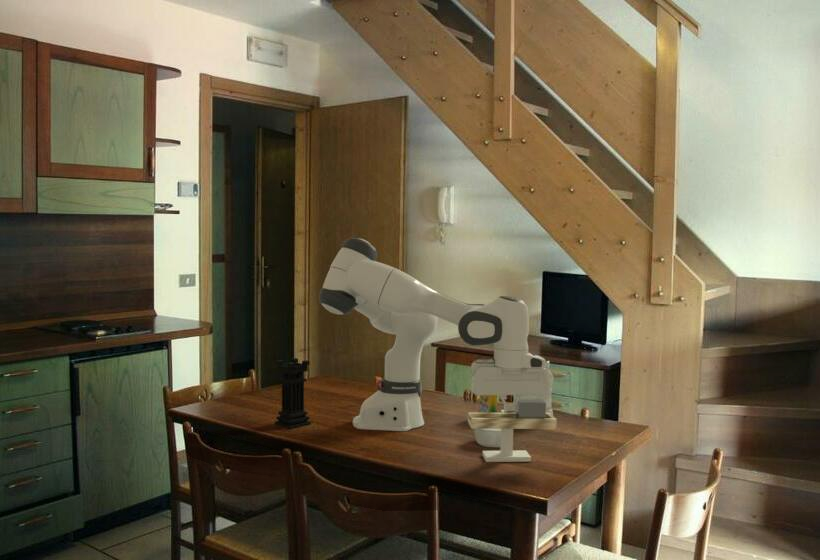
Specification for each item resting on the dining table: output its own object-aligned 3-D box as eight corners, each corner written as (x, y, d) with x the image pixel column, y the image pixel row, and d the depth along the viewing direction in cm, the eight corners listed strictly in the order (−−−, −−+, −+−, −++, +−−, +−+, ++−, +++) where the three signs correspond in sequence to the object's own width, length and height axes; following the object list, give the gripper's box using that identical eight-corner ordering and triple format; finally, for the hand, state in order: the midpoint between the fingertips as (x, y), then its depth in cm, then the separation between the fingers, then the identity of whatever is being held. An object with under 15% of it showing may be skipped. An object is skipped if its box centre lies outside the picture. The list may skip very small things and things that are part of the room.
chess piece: (274, 424, 234) (274, 360, 232) (294, 419, 240) (295, 357, 238) (290, 429, 228) (290, 364, 227) (311, 424, 234) (311, 361, 233)
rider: (518, 421, 194) (519, 402, 193) (515, 417, 198) (516, 399, 197) (545, 421, 194) (545, 402, 194) (541, 418, 198) (542, 399, 198)
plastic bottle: (552, 425, 236) (554, 362, 235) (531, 424, 237) (532, 361, 236) (553, 420, 242) (554, 359, 241) (531, 419, 244) (533, 358, 242)
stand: (486, 461, 199) (487, 413, 198) (482, 455, 205) (483, 408, 204) (530, 461, 200) (532, 413, 199) (525, 454, 206) (526, 407, 205)
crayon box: (478, 418, 244) (479, 383, 244) (487, 417, 245) (487, 382, 245) (488, 423, 238) (489, 387, 237) (497, 423, 239) (497, 387, 238)
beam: (471, 428, 192) (472, 418, 191) (467, 421, 199) (467, 411, 199) (556, 428, 193) (556, 418, 193) (548, 421, 201) (549, 411, 200)
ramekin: (520, 445, 215) (520, 427, 214) (489, 451, 209) (490, 432, 208) (495, 436, 224) (495, 418, 224) (465, 441, 218) (465, 423, 218)
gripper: (472, 361, 190) (471, 414, 191) (552, 361, 192) (550, 414, 193) (469, 356, 197) (468, 408, 198) (546, 357, 198) (544, 408, 199)
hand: (509, 411), depth 195 cm, fingers closed
